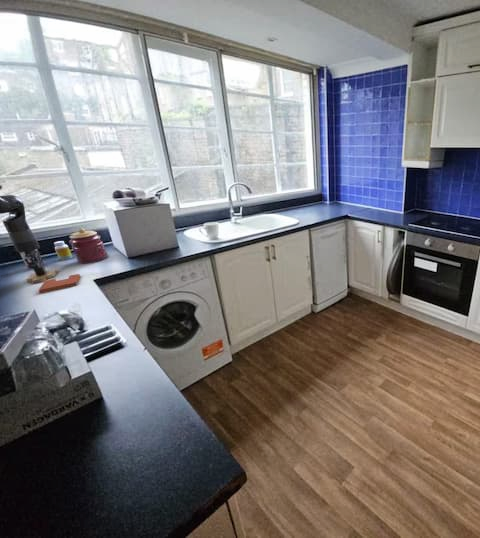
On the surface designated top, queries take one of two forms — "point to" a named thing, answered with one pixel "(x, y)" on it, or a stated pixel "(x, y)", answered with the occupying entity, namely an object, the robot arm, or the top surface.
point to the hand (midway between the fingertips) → (41, 273)
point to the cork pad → (42, 278)
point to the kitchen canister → (87, 246)
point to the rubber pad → (59, 283)
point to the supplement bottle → (62, 250)
